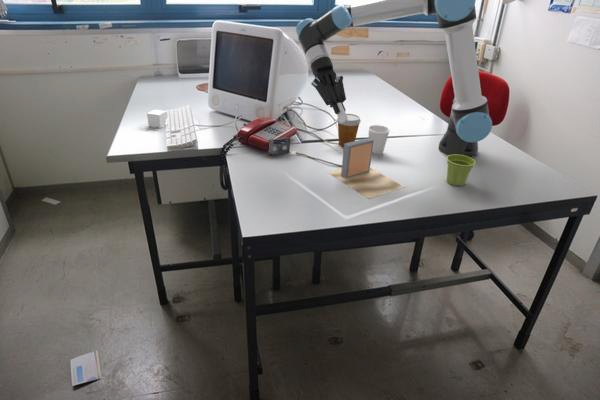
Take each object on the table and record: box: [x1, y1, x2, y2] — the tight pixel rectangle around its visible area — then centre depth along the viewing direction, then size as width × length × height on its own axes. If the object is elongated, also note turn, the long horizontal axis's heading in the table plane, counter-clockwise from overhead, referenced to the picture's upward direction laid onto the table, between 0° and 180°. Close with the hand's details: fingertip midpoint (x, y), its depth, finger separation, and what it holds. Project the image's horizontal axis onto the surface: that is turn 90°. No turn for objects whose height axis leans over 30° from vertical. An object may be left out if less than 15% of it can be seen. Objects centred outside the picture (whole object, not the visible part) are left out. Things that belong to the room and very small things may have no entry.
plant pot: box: [446, 154, 477, 187], centre depth 141 cm, size 9×9×9 cm
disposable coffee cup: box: [336, 113, 362, 148], centre depth 166 cm, size 10×10×12 cm
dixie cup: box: [367, 124, 391, 155], centre depth 160 cm, size 8×8×10 cm
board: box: [326, 167, 405, 200], centre depth 140 cm, size 22×16×1 cm
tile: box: [341, 137, 374, 179], centre depth 141 cm, size 3×11×12 cm, turn 124°
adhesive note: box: [146, 109, 169, 129], centre depth 179 cm, size 6×6×6 cm
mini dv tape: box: [267, 136, 291, 156], centre depth 158 cm, size 8×2×6 cm, turn 111°
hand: (344, 121), depth 142 cm, fingers closed
